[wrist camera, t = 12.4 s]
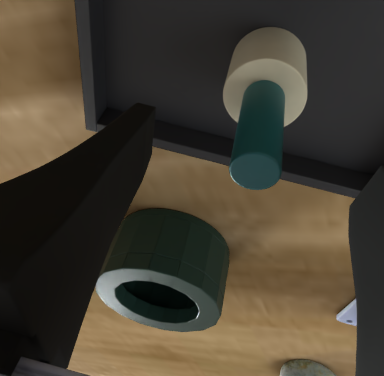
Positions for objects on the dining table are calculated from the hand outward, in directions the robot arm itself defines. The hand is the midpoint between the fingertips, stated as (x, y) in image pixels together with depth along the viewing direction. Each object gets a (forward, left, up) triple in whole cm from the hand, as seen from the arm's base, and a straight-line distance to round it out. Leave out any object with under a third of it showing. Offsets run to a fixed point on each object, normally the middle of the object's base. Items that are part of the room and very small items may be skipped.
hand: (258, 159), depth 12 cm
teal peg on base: (0, 0, -6) cm, 6 cm away
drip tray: (0, 0, -7) cm, 7 cm away
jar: (+3, +17, -7) cm, 18 cm away
